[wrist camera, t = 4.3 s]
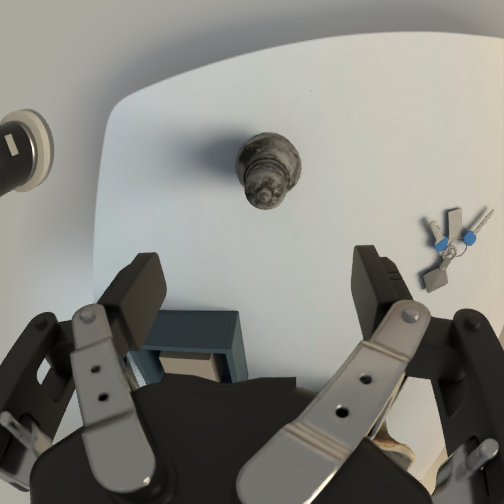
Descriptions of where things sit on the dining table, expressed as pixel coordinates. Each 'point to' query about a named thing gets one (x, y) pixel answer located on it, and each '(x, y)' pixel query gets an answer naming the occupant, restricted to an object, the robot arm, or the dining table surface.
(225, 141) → the dining table surface
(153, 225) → the dining table surface
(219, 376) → the block
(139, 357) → the crate
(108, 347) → the robot arm
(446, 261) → the key chain
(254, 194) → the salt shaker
